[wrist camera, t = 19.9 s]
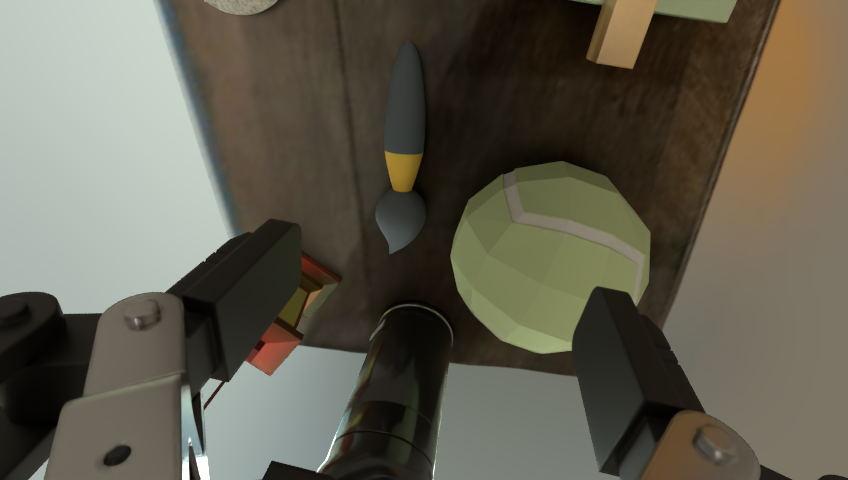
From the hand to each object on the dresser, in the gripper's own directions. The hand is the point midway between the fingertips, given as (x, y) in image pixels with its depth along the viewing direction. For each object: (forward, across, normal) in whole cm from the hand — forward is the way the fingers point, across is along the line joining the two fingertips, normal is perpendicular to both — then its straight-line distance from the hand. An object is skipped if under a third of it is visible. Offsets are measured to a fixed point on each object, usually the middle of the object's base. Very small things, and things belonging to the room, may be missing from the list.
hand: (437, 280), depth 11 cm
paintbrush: (+28, +6, +6) cm, 30 cm away
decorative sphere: (+28, -8, +10) cm, 31 cm away
